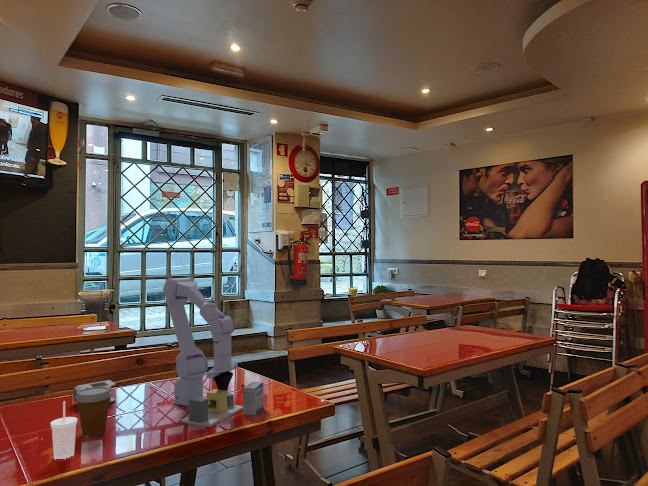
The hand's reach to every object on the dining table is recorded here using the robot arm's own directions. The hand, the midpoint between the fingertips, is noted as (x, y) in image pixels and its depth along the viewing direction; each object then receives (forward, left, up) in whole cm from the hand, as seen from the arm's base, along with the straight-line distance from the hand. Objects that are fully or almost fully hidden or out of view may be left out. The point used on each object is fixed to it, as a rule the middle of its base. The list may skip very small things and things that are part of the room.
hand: (222, 395), depth 156 cm
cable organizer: (-47, -10, -5) cm, 48 cm away
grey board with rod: (0, -5, -5) cm, 7 cm away
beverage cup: (-17, -45, -5) cm, 48 cm away
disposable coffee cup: (-24, -30, -5) cm, 39 cm away
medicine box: (+10, +3, -5) cm, 12 cm away
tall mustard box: (0, -3, -4) cm, 5 cm away
